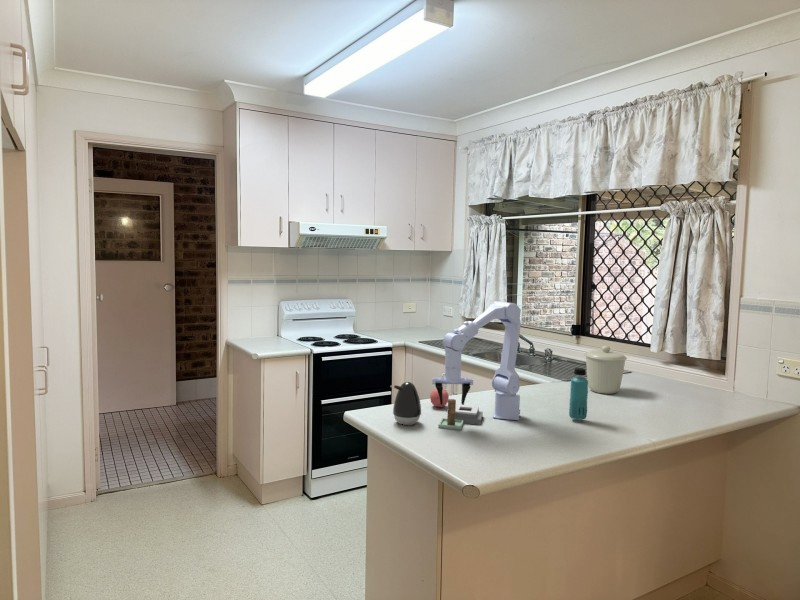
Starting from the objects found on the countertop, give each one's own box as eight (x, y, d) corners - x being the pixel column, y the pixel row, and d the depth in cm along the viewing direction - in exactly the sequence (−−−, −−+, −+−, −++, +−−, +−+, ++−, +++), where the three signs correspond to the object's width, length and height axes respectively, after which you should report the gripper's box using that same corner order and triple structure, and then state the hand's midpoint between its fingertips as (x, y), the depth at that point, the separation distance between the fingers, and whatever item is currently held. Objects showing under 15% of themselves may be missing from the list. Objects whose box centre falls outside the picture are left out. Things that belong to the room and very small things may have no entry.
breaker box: (482, 416, 213) (482, 406, 212) (480, 424, 203) (480, 414, 203) (451, 413, 216) (451, 403, 215) (447, 421, 206) (447, 411, 206)
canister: (628, 390, 258) (631, 345, 256) (620, 398, 243) (623, 351, 241) (588, 384, 268) (590, 340, 266) (578, 392, 253) (580, 346, 251)
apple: (447, 410, 220) (447, 390, 220) (428, 408, 222) (429, 389, 221) (449, 405, 228) (449, 385, 227) (431, 403, 229) (432, 384, 228)
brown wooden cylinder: (456, 424, 202) (457, 399, 201) (452, 426, 200) (453, 401, 199) (449, 422, 203) (450, 398, 203) (445, 424, 201) (446, 400, 200)
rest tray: (463, 423, 205) (463, 420, 204) (460, 430, 197) (460, 426, 197) (441, 421, 206) (441, 418, 206) (438, 427, 199) (438, 424, 198)
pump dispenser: (388, 420, 206) (388, 379, 204) (413, 417, 210) (414, 377, 209) (398, 428, 197) (399, 386, 195) (425, 425, 201) (426, 384, 199)
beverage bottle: (577, 424, 206) (580, 371, 204) (564, 419, 212) (567, 367, 210) (590, 422, 209) (593, 369, 207) (577, 417, 215) (580, 366, 213)
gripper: (471, 364, 203) (470, 401, 205) (432, 363, 203) (431, 400, 205) (474, 368, 196) (473, 406, 198) (433, 368, 196) (432, 405, 198)
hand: (452, 403), depth 201 cm, fingers open, 7 cm apart
